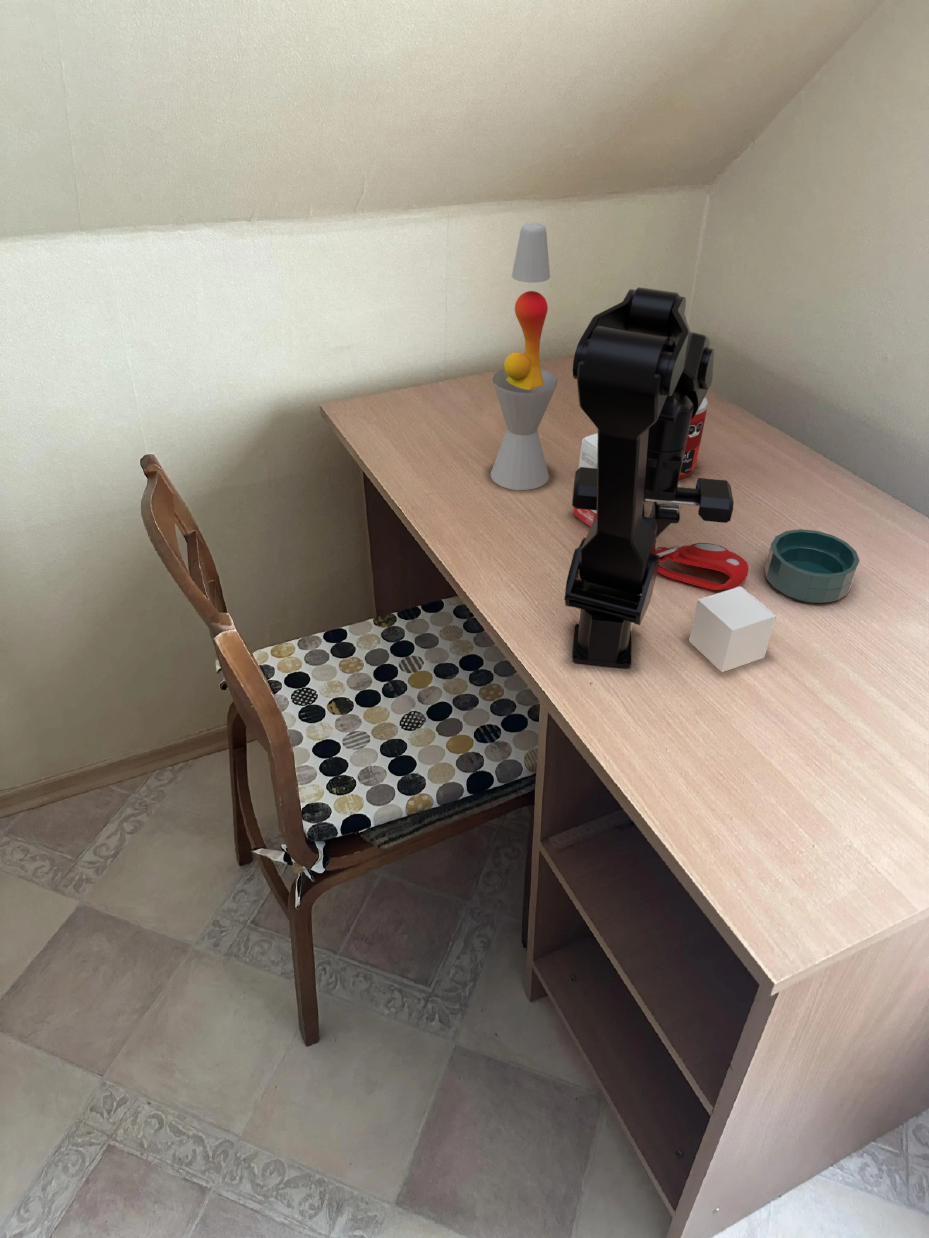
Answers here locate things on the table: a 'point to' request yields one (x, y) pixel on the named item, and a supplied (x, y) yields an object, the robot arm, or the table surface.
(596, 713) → the table surface
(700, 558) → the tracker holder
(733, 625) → the white cube
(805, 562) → the bowl
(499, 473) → the lava lamp
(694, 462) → the canned food
